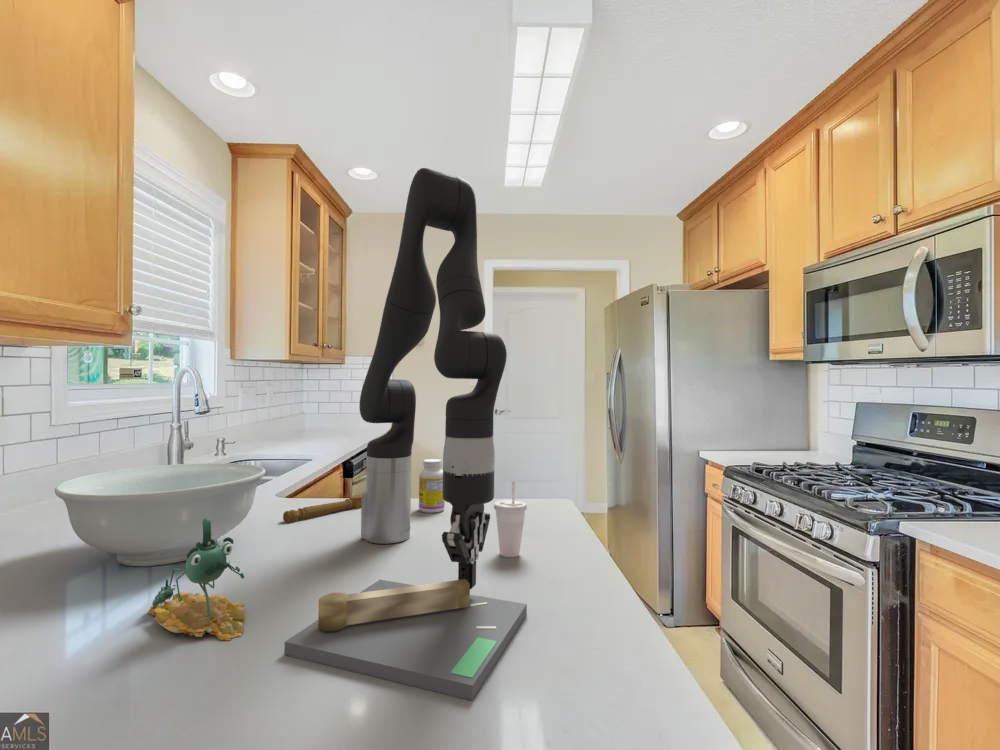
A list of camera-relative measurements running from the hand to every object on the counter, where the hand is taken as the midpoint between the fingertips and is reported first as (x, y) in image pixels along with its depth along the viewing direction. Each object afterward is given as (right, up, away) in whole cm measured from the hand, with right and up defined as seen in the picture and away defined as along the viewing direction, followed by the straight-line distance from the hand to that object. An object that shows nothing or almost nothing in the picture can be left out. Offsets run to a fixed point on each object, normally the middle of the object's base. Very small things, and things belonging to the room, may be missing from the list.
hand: (466, 587), depth 71 cm
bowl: (-58, -3, +21) cm, 61 cm away
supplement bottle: (-13, -4, +55) cm, 57 cm away
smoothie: (+7, -4, +23) cm, 24 cm away
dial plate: (-6, -3, -8) cm, 10 cm away
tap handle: (-35, -4, +53) cm, 64 cm away
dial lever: (-9, -1, -7) cm, 11 cm away
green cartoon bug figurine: (-36, -3, -5) cm, 36 cm away
